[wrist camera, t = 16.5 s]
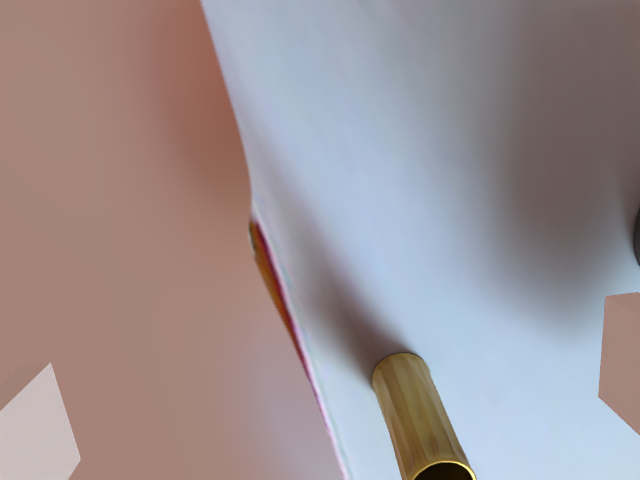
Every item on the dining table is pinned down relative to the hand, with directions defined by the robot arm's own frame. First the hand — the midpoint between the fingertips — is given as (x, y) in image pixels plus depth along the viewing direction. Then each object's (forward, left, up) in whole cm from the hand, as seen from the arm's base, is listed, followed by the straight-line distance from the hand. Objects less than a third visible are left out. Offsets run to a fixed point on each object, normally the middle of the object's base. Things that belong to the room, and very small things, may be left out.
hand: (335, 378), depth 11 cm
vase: (-7, +21, -31) cm, 38 cm away
